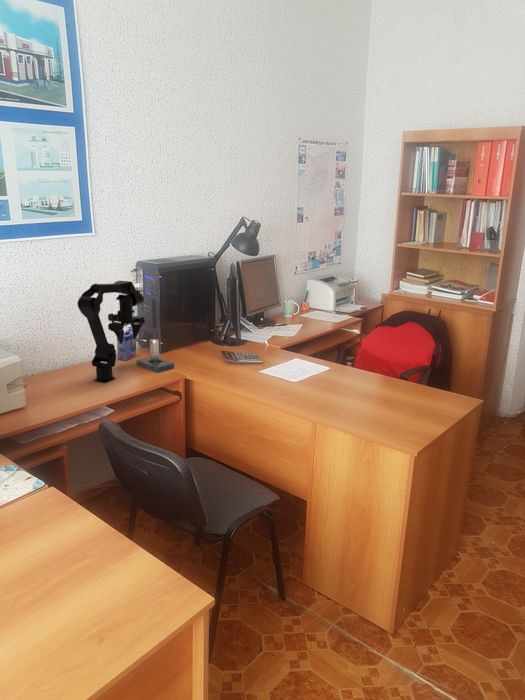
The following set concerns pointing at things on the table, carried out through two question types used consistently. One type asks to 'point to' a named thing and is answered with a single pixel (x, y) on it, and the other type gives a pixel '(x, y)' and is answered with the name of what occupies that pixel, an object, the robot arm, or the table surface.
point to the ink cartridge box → (126, 346)
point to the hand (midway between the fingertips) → (127, 341)
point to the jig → (157, 367)
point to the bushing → (154, 351)
